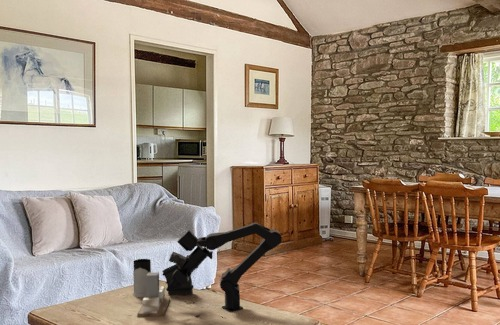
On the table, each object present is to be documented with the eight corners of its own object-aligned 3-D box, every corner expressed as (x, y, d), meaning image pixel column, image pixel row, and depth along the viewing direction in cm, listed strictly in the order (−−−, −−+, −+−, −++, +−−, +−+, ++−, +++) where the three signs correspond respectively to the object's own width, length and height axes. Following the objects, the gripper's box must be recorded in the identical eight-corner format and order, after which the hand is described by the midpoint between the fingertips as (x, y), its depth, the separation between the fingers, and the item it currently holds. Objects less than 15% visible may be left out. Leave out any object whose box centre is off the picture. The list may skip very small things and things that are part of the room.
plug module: (159, 303, 197) (159, 272, 197) (158, 307, 193) (157, 275, 192) (148, 304, 197) (147, 272, 197) (146, 307, 193) (145, 275, 192)
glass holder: (130, 296, 213) (129, 263, 212) (138, 287, 227) (138, 255, 227) (150, 296, 213) (149, 263, 212) (157, 287, 227) (156, 255, 226)
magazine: (197, 292, 213) (183, 261, 213) (172, 303, 215) (157, 273, 216) (200, 289, 216) (185, 259, 217) (174, 301, 219) (160, 271, 219)
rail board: (169, 299, 208) (169, 285, 208) (163, 316, 188) (162, 300, 188) (146, 300, 208) (146, 285, 208) (137, 316, 188) (137, 300, 188)
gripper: (183, 240, 204) (157, 267, 204) (178, 250, 185) (150, 279, 185) (202, 258, 204) (176, 285, 204) (199, 270, 186) (171, 299, 186)
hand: (168, 286), depth 195 cm, fingers open, 9 cm apart
